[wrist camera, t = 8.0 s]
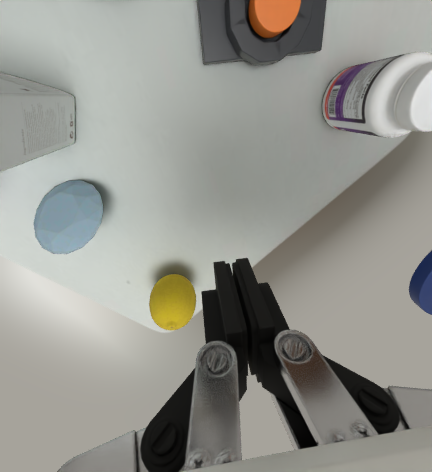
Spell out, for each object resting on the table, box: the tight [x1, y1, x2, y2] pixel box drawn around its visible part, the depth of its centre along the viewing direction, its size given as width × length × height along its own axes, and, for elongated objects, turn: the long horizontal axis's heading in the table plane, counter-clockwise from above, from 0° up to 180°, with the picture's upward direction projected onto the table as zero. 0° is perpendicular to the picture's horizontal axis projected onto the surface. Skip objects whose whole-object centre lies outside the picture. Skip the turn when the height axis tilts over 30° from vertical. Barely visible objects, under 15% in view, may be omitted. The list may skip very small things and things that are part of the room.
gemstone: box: [34, 180, 103, 254], centre depth 24 cm, size 8×8×5 cm
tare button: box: [248, 0, 301, 38], centre depth 16 cm, size 3×3×2 cm
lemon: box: [149, 274, 196, 330], centre depth 28 cm, size 6×6×8 cm
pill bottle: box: [322, 52, 432, 138], centre depth 18 cm, size 5×5×10 cm
